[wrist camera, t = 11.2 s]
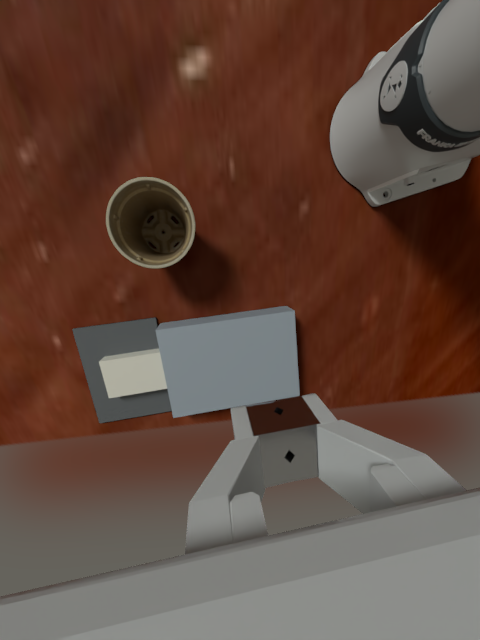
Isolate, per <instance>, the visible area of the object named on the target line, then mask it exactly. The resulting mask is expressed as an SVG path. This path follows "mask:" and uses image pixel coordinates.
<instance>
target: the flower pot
mask: <svg viewBox="0 0 480 640" xmlns="http://www.w3.org/2000/svg"><path fill="white" fill-rule="evenodd" d="M152 215H153V216H154V219H152V220H151V221H150V223H147V222H148V220H149V218H150V217H151V216H152ZM172 216H174V217H175V218H176V219H177V221H178V222H179V223H178V224H176V223H175V222H174V221H173V220H172V219H171V217H172ZM106 225H107V230H108V234H109V237H110V239H111V241H112V243H113V244H114V246H115V247H116V248H117V250H118V251H119V252H120V253H121V254H122V255H123V256H124V257H125V258H127V259H128V260H130V261H131V262H133V263H135V264H137V265H139V266H143V267H147V268H164V267H168V266H171V265H173V264H175V263H177V262H178V261H179V260H181V259H182V258H183V257H184V256H185V255H186V254H187V252H188V251H189V249H190V247H191V245H192V243H193V240H194V236H195V219H194V214H193V211H192V209H191V206H190V204H189V203H188V201H187V199H186V198H185V197H184V195H183V194H182V193H181V192H180V191H179V190H178V189H177V188H176V187H174V186H173V185H171V184H170V183H168V182H166V181H163V180H161V179H158V178H154V177H139V178H135V179H132V180H130V181H127V182H126V183H125V184H123V185H121V186H120V187H119V188H118V189H117V190H116V191H115V193H114V194H113V196H112V197H111V199H110V201H109V204H108V207H107V211H106ZM162 231H165V233H164V234H163V233H162ZM149 242H151V243H152V244H153V245H154V246H155V247H156V249H154V248H152V247H151V246H150V245H149ZM177 242H179V244H178V245H177V246H176V247H173V246H174V245H175V243H177Z"/></svg>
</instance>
